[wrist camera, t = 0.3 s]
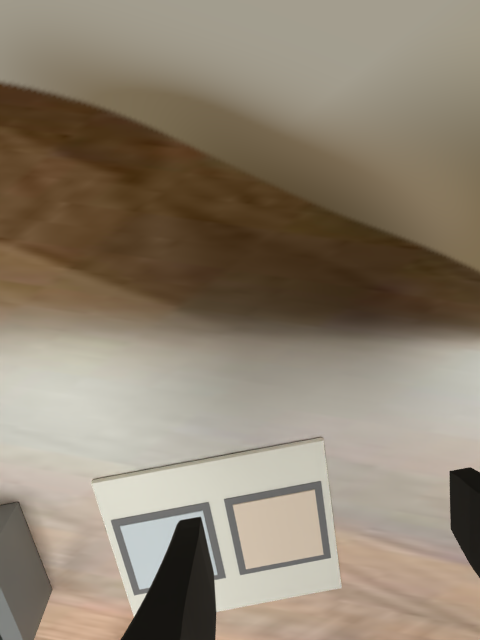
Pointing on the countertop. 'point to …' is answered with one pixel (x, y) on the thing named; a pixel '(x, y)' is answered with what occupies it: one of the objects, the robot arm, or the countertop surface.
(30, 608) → the button housing
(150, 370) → the countertop surface
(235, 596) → the sheet
